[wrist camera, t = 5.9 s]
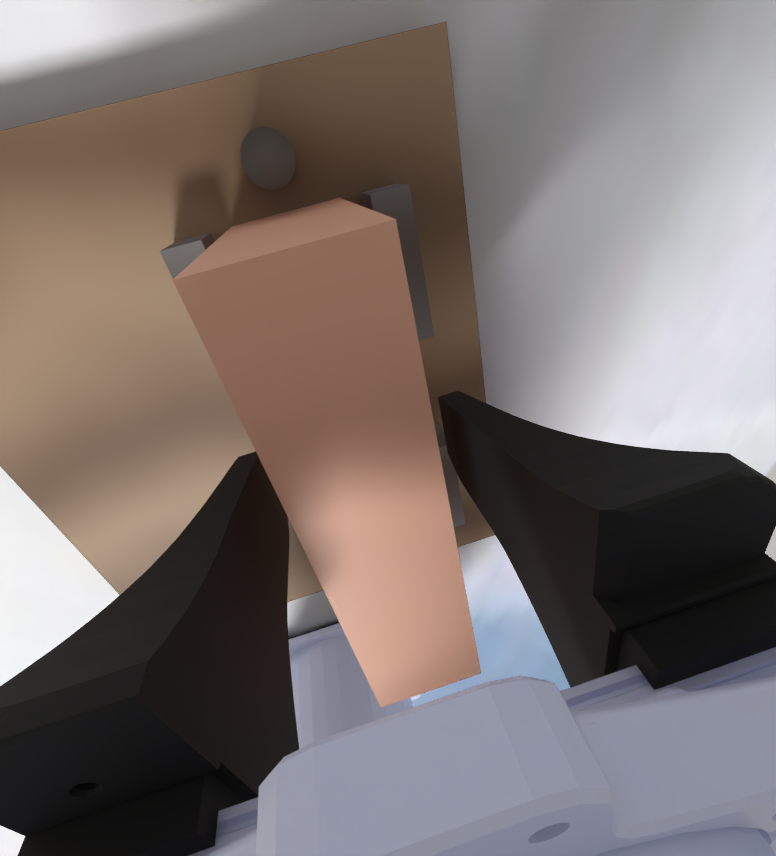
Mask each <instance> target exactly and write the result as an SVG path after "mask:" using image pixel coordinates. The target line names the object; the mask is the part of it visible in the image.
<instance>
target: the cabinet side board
mask: <svg viewBox="0 0 776 856" xmlns="http://www.w3.org/2000/svg"><path fill="white" fill-rule="evenodd" d="M336 198H342V199H344V200H347V201H350V202H352V203H355V204H358V205H360V206H363V207H365V208H368V209H371V210H373V211H376V212H379V213H381V214H384V215H386V216H389V217H392V218H394V219H396V223H397V228H398V234H399V239H400V244H401V250H402V255H403V260H404V266H405V271H406V276H407V282H408V287H409V292H410V298H411V303H412V308H413V314H414V319H415V324H416V329H417V335H418V340H419V345H420V351H421V356H422V361H423V367H424V372H425V377H426V383H427V388H428V393H429V399H430V404H431V409H432V415H433V420H434V425H435V430H436V436H437V441H438V446H439V452H440V457H441V462H442V468H443V473H444V478H445V484H446V489H447V494H448V500H449V505H450V510H451V516H452V521H453V526H454V531H455V537H456V542H457V547H459V546H462V545H465V544H468V543H471V542H475V541H478V540H481V539H484V538H487V537H490V536H493V535H495V533H494V532H493V530H492V529H491V527H490V526H489V524H488V523H487V521H486V520H485V518H484V517H483V515H482V513H481V512H480V510H479V509H478V507H477V506H476V504H475V503H474V501H473V500H472V498H471V497H470V495H469V493H468V492H467V490H466V489H465V487H464V486H463V484H462V483H461V481H460V479H459V477H458V475H457V473H456V471H455V468H454V466H453V464H452V462H451V460H450V458H449V455H448V452H447V446H446V441H445V435H444V429H443V423H442V418H441V412H440V406H439V401H438V397H439V396H442V395H446V394H449V393H452V392H456V391H460V392H463V393H465V394H467V395H469V396H472V397H474V398H476V399H478V400H480V401H482V402H484V403H486V400H485V390H484V380H483V371H482V361H481V352H480V342H479V332H478V323H477V313H476V303H475V294H474V284H473V275H472V265H471V255H470V246H469V236H468V227H467V217H466V207H465V198H464V188H463V178H462V169H461V159H460V150H459V140H458V130H457V121H456V111H455V102H454V92H453V82H452V73H451V63H450V53H449V44H448V34H447V25H446V22H443V23H439V24H435V25H431V26H427V27H423V28H418V29H414V30H410V31H406V32H402V33H398V34H394V35H390V36H386V37H382V38H378V39H374V40H369V41H365V42H361V43H357V44H353V45H349V46H345V47H341V48H337V49H333V50H329V51H325V52H321V53H316V54H312V55H308V56H304V57H300V58H296V59H292V60H288V61H284V62H280V63H276V64H272V65H268V66H263V67H259V68H255V69H251V70H247V71H243V72H239V73H235V74H231V75H227V76H223V77H219V78H214V79H210V80H206V81H202V82H198V83H194V84H190V85H186V86H182V87H178V88H174V89H170V90H166V91H161V92H157V93H153V94H149V95H145V96H141V97H137V98H133V99H129V100H125V101H121V102H117V103H113V104H108V105H104V106H100V107H96V108H92V109H88V110H84V111H80V112H76V113H72V114H68V115H64V116H59V117H55V118H51V119H47V120H43V121H39V122H35V123H31V124H27V125H23V126H19V127H15V128H11V129H6V130H2V131H0V466H1V467H2V469H3V470H4V471H5V472H6V473H7V474H8V475H9V476H10V477H11V478H12V479H13V480H14V481H15V483H16V484H17V485H18V486H19V487H20V488H21V489H22V490H23V491H24V492H25V493H26V494H27V495H28V497H29V498H30V499H31V500H32V501H33V502H34V503H35V504H36V505H37V506H38V507H39V508H40V509H41V511H42V512H43V513H44V514H45V515H46V516H47V517H48V518H49V519H50V520H51V521H52V522H53V524H54V525H55V526H56V527H57V528H58V529H59V530H60V531H61V532H62V533H63V534H64V535H65V536H66V538H67V539H68V540H69V541H70V542H71V543H72V544H73V545H74V546H75V547H76V548H77V549H78V550H79V552H80V553H81V554H82V555H83V556H84V557H85V558H86V559H87V560H88V561H89V562H90V563H91V564H92V566H93V567H94V568H95V569H96V570H97V571H98V572H99V573H100V574H101V575H102V576H103V577H104V579H105V580H106V581H107V582H108V583H109V584H110V585H111V586H112V587H113V588H114V589H115V590H116V591H117V593H118V594H119V595H121V594H122V593H123V592H124V591H125V590H126V589H127V588H128V587H129V586H130V585H131V584H133V583H134V582H135V581H136V580H137V579H138V578H139V577H140V576H141V575H142V574H143V573H145V572H146V571H147V570H148V569H149V568H150V567H151V566H152V565H153V564H154V562H155V561H156V560H157V559H158V558H159V557H160V556H161V555H162V554H163V553H164V552H165V551H166V550H167V549H168V548H169V547H170V546H171V544H172V543H173V542H174V541H175V540H176V539H177V538H178V536H179V535H180V534H181V533H182V532H183V530H184V529H185V528H186V527H187V525H188V524H189V523H190V522H191V520H192V519H193V518H194V517H195V515H196V514H197V513H198V512H199V510H200V509H201V508H202V507H203V505H204V504H205V502H206V501H207V500H208V498H209V497H210V496H211V494H212V493H213V491H214V490H215V489H216V487H217V486H218V484H219V483H220V482H221V480H222V479H223V477H224V476H225V474H226V473H227V472H228V470H229V469H230V467H231V466H232V465H233V463H234V462H235V461H236V459H237V458H238V457H239V456H242V455H246V454H249V453H252V452H256V451H255V448H254V446H253V444H252V442H251V440H250V438H249V436H248V434H247V432H246V430H245V428H244V426H243V424H242V422H241V420H240V418H239V416H238V414H237V412H236V410H235V407H234V405H233V403H232V401H231V399H230V397H229V395H228V393H227V391H226V389H225V387H224V385H223V383H222V381H221V379H220V377H219V375H218V373H217V371H216V369H215V366H214V364H213V362H212V360H211V358H210V356H209V354H208V352H207V350H206V348H205V346H204V344H203V342H202V340H201V338H200V336H199V334H198V332H197V330H196V328H195V325H194V323H193V321H192V319H191V317H190V315H189V313H188V311H187V309H186V307H185V305H184V303H183V301H182V299H181V297H180V295H179V293H178V291H177V289H176V287H175V284H174V282H173V279H174V278H175V277H176V276H177V275H178V274H179V273H181V272H182V271H183V270H184V269H185V268H186V267H187V266H188V265H189V264H191V263H192V262H193V261H194V260H195V259H196V258H197V257H198V256H199V255H201V254H202V253H203V252H204V251H205V250H206V249H207V248H208V247H209V246H211V245H212V244H213V243H214V242H215V241H216V240H217V239H218V238H219V237H221V236H222V235H223V234H224V233H225V232H226V231H227V230H228V229H229V228H231V227H232V226H235V225H239V224H243V223H246V222H250V221H254V220H258V219H261V218H265V217H269V216H273V215H276V214H280V213H284V212H288V211H291V210H295V209H299V208H303V207H306V206H310V205H314V204H317V203H321V202H325V201H329V200H332V199H336ZM288 524H289V570H288V597H287V602H289V601H292V600H295V599H298V598H301V597H304V596H307V595H311V594H314V593H317V592H320V591H323V588H322V586H321V584H320V582H319V580H318V578H317V576H316V574H315V572H314V569H313V567H312V565H311V563H310V561H309V559H308V557H307V555H306V553H305V551H304V549H303V547H302V545H301V543H300V541H299V539H298V537H297V535H296V533H295V531H294V528H293V526H292V524H291V522H290V520H289V518H288Z"/></svg>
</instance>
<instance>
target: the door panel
mask: <svg viewBox="0 0 776 856" xmlns="http://www.w3.org/2000/svg"><path fill="white" fill-rule="evenodd" d="M173 282H174V284H175V287H176V289H177V291H178V293H179V295H180V297H181V299H182V301H183V303H184V305H185V307H186V309H187V311H188V313H189V315H190V317H191V319H192V321H193V323H194V325H195V328H196V330H197V332H198V334H199V336H200V338H201V340H202V342H203V344H204V346H205V348H206V350H207V352H208V354H209V356H210V358H211V360H212V362H213V364H214V366H215V369H216V371H217V373H218V375H219V377H220V379H221V381H222V383H223V385H224V387H225V389H226V391H227V393H228V395H229V397H230V399H231V401H232V403H233V405H234V407H235V410H236V412H237V414H238V416H239V418H240V420H241V422H242V424H243V426H244V428H245V430H246V432H247V434H248V436H249V438H250V440H251V442H252V444H253V446H254V448H255V451H256V453H257V455H258V457H259V459H260V461H261V463H262V465H263V467H264V469H265V471H266V473H267V475H268V477H269V479H270V481H271V483H272V485H273V487H274V490H275V492H276V494H277V496H278V498H279V500H280V502H281V504H282V506H283V508H284V510H285V512H286V514H287V516H288V518H289V520H290V522H291V524H292V526H293V528H294V531H295V533H296V535H297V537H298V539H299V541H300V543H301V545H302V547H303V549H304V551H305V553H306V555H307V557H308V559H309V561H310V563H311V565H312V567H313V569H314V572H315V574H316V576H317V578H318V580H319V582H320V584H321V586H322V588H323V590H324V592H325V594H326V596H327V598H328V600H329V602H330V604H331V606H332V608H333V610H334V613H335V615H336V617H337V619H338V621H339V623H340V625H341V627H342V629H343V631H344V633H345V635H346V637H347V639H348V641H349V643H350V645H351V647H352V649H353V651H354V654H355V656H356V658H357V660H358V662H359V664H360V666H361V668H362V670H363V672H364V674H365V676H366V678H367V680H368V682H369V684H370V686H371V688H372V690H373V693H374V695H375V697H376V699H377V701H378V703H379V705H380V707H384V706H387V705H390V704H393V703H396V702H399V701H402V700H405V699H408V698H410V697H413V696H416V695H419V694H422V693H425V692H428V691H431V690H434V689H437V688H440V687H443V686H445V685H448V684H451V683H454V682H457V681H460V680H463V679H466V678H469V677H472V676H475V675H477V674H480V673H481V670H480V664H479V659H478V654H477V648H476V643H475V638H474V633H473V627H472V622H471V617H470V611H469V606H468V601H467V595H466V590H465V585H464V579H463V574H462V569H461V563H460V558H459V553H458V547H457V542H456V537H455V531H454V526H453V521H452V516H451V510H450V505H449V500H448V494H447V489H446V484H445V478H444V473H443V468H442V462H441V457H440V452H439V446H438V441H437V436H436V430H435V425H434V420H433V415H432V409H431V404H430V399H429V393H428V388H427V383H426V377H425V372H424V367H423V361H422V356H421V351H420V345H419V340H418V335H417V329H416V324H415V319H414V314H413V308H412V303H411V298H410V292H409V287H408V282H407V276H406V271H405V266H404V260H403V255H402V250H401V244H400V239H399V234H398V228H397V223H396V219H394V218H392V217H389V216H386V215H384V214H381V213H379V212H376V211H373V210H371V209H368V208H365V207H363V206H360V205H358V204H355V203H352V202H350V201H347V200H344V199H342V198H336V199H332V200H329V201H325V202H321V203H317V204H314V205H310V206H306V207H303V208H299V209H295V210H291V211H288V212H284V213H280V214H276V215H273V216H269V217H265V218H261V219H258V220H254V221H250V222H246V223H243V224H239V225H235V226H232V227H231V228H229V229H228V230H227V231H226V232H225V233H224V234H223V235H222V236H221V237H219V238H218V239H217V240H216V241H215V242H214V243H213V244H212V245H211V246H209V247H208V248H207V249H206V250H205V251H204V252H203V253H202V254H201V255H199V256H198V257H197V258H196V259H195V260H194V261H193V262H192V263H191V264H189V265H188V266H187V267H186V268H185V269H184V270H183V271H182V272H181V273H179V274H178V275H177V276H176V277H175V278H174V279H173Z"/></svg>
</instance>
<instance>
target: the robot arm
mask: <svg viewBox="0 0 776 856" xmlns="http://www.w3.org/2000/svg"><path fill="white" fill-rule="evenodd" d="M438 401H439V406H440V412H441V418H442V423H443V429H444V435H445V441H446V446H447V452H448V455H449V458H450V460H451V462H452V464H453V466H454V468H455V471H456V473H457V475H458V477H459V479H460V481H461V483H462V484H463V486H464V487H465V489H466V490H467V492H468V493H469V495H470V497H471V498H472V500H473V501H474V503H475V504H476V506H477V507H478V509H479V510H480V512H481V513H482V515H483V517H484V518H485V520H486V521H487V523H488V524H489V526H490V527H491V529H492V530H493V532H494V533H495V535H496V536H497V538H498V540H499V541H500V543H501V545H502V546H503V548H504V550H505V552H506V553H507V555H508V557H509V559H510V561H511V563H512V565H513V567H514V569H515V571H516V573H517V575H518V577H519V579H520V581H521V583H522V585H523V587H524V589H525V591H526V593H527V595H528V597H529V599H530V601H531V603H532V605H533V607H534V609H535V611H536V614H537V616H538V618H539V620H540V622H541V624H542V626H543V628H544V630H545V633H546V635H547V637H548V639H549V641H550V643H551V645H552V648H553V650H554V652H555V654H556V656H557V658H558V661H559V663H560V665H561V667H562V669H563V672H564V674H565V676H566V678H567V681H568V683H569V685H570V687H571V688H568V689H566V690H563V691H559V690H558V688H557V686H556V685H555V684H554V683H552V682H549V681H546V680H542V679H537V678H531V677H525V676H515V677H510V678H505V679H500V680H495V681H490V682H485V683H483V684H480V685H477V686H474V687H471V688H468V689H465V690H462V691H459V692H456V693H454V694H451V695H448V696H445V697H442V698H439V699H436V700H433V701H430V702H427V703H425V704H422V705H419V706H416V707H413V706H412V702H411V701H412V700H415V699H417V698H419V697H420V696H421V694H419V695H416V696H413V697H410V698H408V699H405V700H402V701H399V702H396V703H393V704H390V705H387V706H384V707H380V705H379V703H378V701H377V699H376V697H375V695H374V693H373V690H372V688H371V686H370V684H369V682H368V680H367V678H366V676H365V674H364V672H363V670H362V668H361V666H360V664H359V662H358V660H357V658H356V656H355V654H354V651H353V649H352V647H351V645H350V643H349V641H348V639H347V637H346V635H345V633H344V631H343V629H342V627H341V625H340V623H338V624H334V625H331V626H328V627H325V628H322V629H319V630H316V631H313V632H310V633H307V634H304V635H301V636H298V637H295V638H292V639H289V640H288V626H287V597H288V570H289V524H288V516H287V514H286V512H285V510H284V508H283V506H282V504H281V502H280V500H279V498H278V496H277V494H276V492H275V490H274V487H273V485H272V483H271V481H270V479H269V477H268V475H267V473H266V471H265V469H264V467H263V465H262V463H261V461H260V459H259V457H258V455H257V453H256V452H252V453H249V454H246V455H242V456H239V457H238V458H237V459H236V461H235V462H234V463H233V465H232V466H231V467H230V469H229V470H228V472H227V473H226V474H225V476H224V477H223V479H222V480H221V482H220V483H219V484H218V486H217V487H216V489H215V490H214V491H213V493H212V494H211V496H210V497H209V498H208V500H207V501H206V502H205V504H204V505H203V507H202V508H201V509H200V510H199V512H198V513H197V514H196V515H195V517H194V518H193V519H192V520H191V522H190V523H189V524H188V525H187V527H186V528H185V529H184V530H183V532H182V533H181V534H180V535H179V536H178V538H177V539H176V540H175V541H174V542H173V543H172V544H171V546H170V547H169V548H168V549H167V550H166V551H165V552H164V553H163V554H162V555H161V556H160V557H159V558H158V559H157V560H156V561H155V562H154V564H153V565H152V566H151V567H150V568H149V569H148V570H147V571H146V572H145V573H143V574H142V575H141V576H140V577H139V578H138V579H137V580H136V581H135V582H134V583H133V584H131V585H130V586H129V587H128V588H127V589H126V590H125V591H124V592H123V593H122V594H121V595H120V596H118V597H117V598H116V599H115V600H114V601H113V602H112V603H111V604H109V605H108V606H107V607H106V608H105V609H104V610H102V611H101V612H100V613H99V614H98V615H96V616H95V617H94V618H93V619H91V620H90V621H89V622H88V623H86V624H85V625H84V626H83V627H81V628H80V629H79V630H78V631H76V632H75V633H74V634H73V635H71V636H70V637H69V638H67V639H66V640H65V641H63V642H62V643H61V644H59V645H58V646H57V647H55V648H54V649H53V650H51V651H50V652H49V653H47V654H46V655H44V656H43V657H41V658H40V659H39V660H37V661H36V662H34V663H33V664H32V665H30V666H29V667H27V668H26V669H25V670H23V671H22V672H20V673H19V674H18V675H16V676H15V677H13V678H12V679H10V680H9V681H8V682H6V683H5V684H3V685H2V686H0V825H1V826H3V827H6V828H8V829H10V830H13V831H15V832H17V833H20V834H22V835H24V836H25V839H24V841H23V844H22V846H21V849H20V852H19V854H18V856H776V562H775V561H774V560H773V559H772V558H770V557H769V556H768V555H766V554H765V551H766V548H767V546H768V543H769V541H770V538H771V536H772V533H773V531H774V529H775V526H776V484H775V483H774V482H773V481H772V480H770V479H769V478H767V477H765V476H764V475H762V474H761V473H759V472H757V471H756V470H754V469H753V468H751V467H749V466H748V465H746V464H745V463H743V462H741V461H740V460H738V459H737V458H735V457H733V456H732V455H730V454H728V453H710V452H689V451H671V450H660V449H651V448H642V447H634V446H627V445H620V444H614V443H608V442H603V441H598V440H592V439H588V438H583V437H579V436H575V435H571V434H567V433H564V432H560V431H556V430H553V429H549V428H546V427H543V426H540V425H537V424H535V423H532V422H529V421H526V420H524V419H521V418H518V417H516V416H513V415H511V414H509V413H506V412H504V411H502V410H499V409H497V408H495V407H493V406H491V405H488V404H486V403H484V402H482V401H480V400H478V399H476V398H474V397H472V396H469V395H467V394H465V393H463V392H460V391H456V392H452V393H449V394H446V395H442V396H439V397H438Z"/></svg>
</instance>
